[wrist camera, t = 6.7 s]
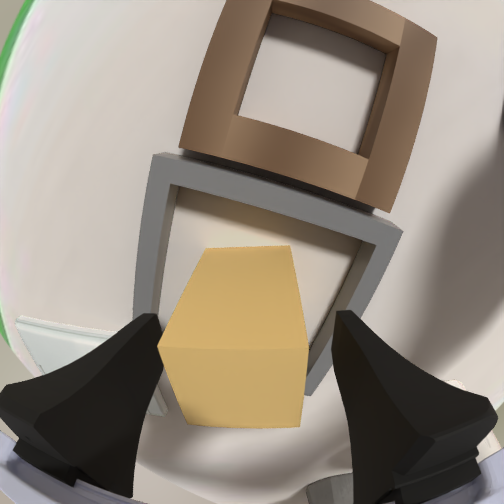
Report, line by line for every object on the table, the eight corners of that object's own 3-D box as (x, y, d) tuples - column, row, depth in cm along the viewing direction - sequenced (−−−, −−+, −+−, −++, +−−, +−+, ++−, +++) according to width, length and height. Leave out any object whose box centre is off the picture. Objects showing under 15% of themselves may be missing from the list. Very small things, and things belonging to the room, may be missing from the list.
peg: (289, 245, 13) (309, 347, 7) (289, 315, 15) (299, 427, 8) (205, 248, 13) (157, 346, 7) (215, 316, 15) (187, 424, 8)
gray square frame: (390, 221, 12) (403, 231, 11) (308, 378, 17) (310, 396, 15) (165, 152, 12) (153, 154, 10) (140, 335, 16) (132, 351, 14)
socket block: (422, 44, 9) (437, 37, 7) (377, 204, 12) (389, 213, 11) (245, -20, 8) (242, -35, 7) (188, 146, 11) (178, 147, 10)
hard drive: (51, 390, 19) (165, 420, 18) (12, 321, 16) (132, 345, 15) (59, 379, 20) (169, 404, 20) (23, 311, 17) (141, 328, 16)
